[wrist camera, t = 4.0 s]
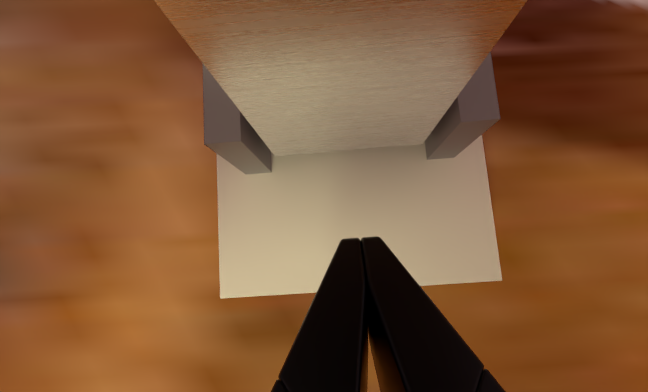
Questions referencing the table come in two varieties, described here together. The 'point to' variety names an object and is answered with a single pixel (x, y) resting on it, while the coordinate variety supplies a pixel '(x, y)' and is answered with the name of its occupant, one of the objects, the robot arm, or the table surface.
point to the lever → (341, 64)
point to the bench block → (354, 199)
